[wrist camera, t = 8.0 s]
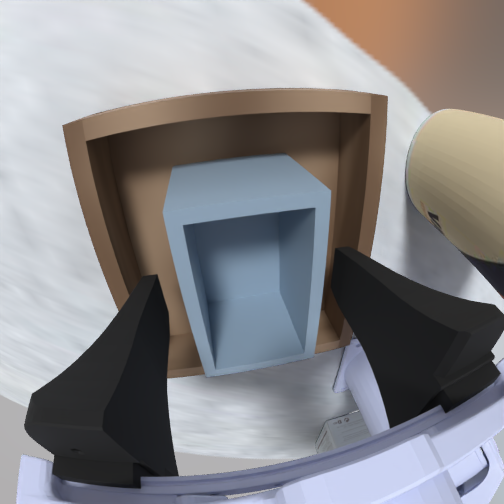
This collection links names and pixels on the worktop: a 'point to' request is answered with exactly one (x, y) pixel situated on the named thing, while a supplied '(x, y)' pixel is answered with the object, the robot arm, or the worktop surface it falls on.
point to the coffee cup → (462, 185)
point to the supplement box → (342, 432)
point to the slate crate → (249, 258)
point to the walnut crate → (213, 148)
